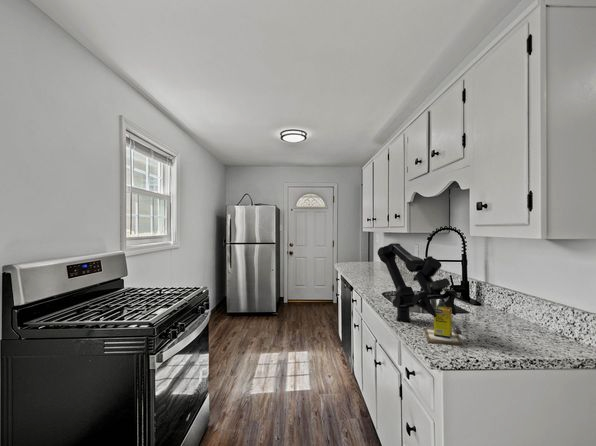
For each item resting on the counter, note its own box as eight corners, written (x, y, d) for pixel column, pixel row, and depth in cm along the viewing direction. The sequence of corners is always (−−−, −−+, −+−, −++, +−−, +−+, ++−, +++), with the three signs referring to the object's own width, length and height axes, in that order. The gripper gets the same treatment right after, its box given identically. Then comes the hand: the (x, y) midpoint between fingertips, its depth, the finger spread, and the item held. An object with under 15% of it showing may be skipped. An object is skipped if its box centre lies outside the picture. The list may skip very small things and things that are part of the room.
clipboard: (424, 330, 139) (424, 326, 139) (454, 332, 136) (454, 328, 136) (427, 342, 124) (427, 338, 124) (462, 345, 121) (462, 341, 121)
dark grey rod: (452, 320, 147) (455, 323, 146) (449, 323, 147) (452, 326, 147) (457, 329, 134) (461, 332, 134) (454, 332, 135) (458, 335, 134)
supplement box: (450, 338, 125) (449, 310, 126) (433, 336, 129) (433, 308, 129) (452, 334, 130) (452, 307, 131) (436, 332, 134) (436, 305, 134)
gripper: (416, 272, 131) (435, 306, 120) (454, 270, 136) (476, 302, 126) (404, 288, 138) (422, 321, 128) (441, 286, 144) (460, 317, 133)
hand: (445, 315), depth 128 cm, fingers open, 9 cm apart
